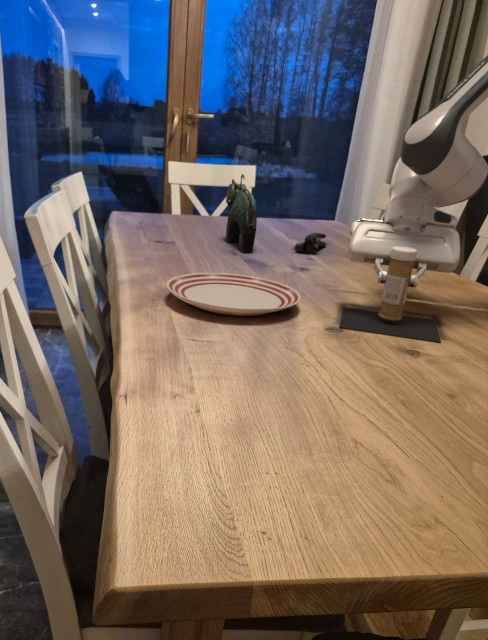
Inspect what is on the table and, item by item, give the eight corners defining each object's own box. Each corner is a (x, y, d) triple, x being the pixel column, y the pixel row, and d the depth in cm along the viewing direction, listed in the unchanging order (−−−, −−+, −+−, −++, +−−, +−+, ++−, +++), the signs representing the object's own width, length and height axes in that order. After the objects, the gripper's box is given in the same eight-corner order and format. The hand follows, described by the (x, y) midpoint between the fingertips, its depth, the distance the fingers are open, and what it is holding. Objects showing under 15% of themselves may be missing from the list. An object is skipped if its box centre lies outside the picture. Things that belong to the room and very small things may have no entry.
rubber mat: (434, 320, 115) (434, 319, 115) (440, 343, 103) (441, 342, 103) (343, 307, 119) (343, 306, 119) (339, 328, 107) (339, 327, 107)
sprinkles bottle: (406, 319, 112) (422, 249, 106) (391, 322, 109) (407, 251, 103) (386, 312, 115) (402, 244, 109) (372, 315, 112) (386, 246, 106)
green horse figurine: (220, 239, 179) (226, 170, 170) (240, 240, 180) (247, 171, 171) (238, 253, 161) (245, 177, 152) (260, 254, 162) (268, 179, 154)
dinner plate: (227, 278, 135) (228, 264, 134) (325, 308, 118) (328, 293, 117) (137, 297, 117) (137, 281, 116) (238, 335, 100) (240, 317, 99)
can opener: (313, 256, 164) (317, 236, 162) (291, 252, 167) (294, 232, 165) (334, 247, 178) (337, 229, 175) (313, 244, 181) (315, 225, 178)
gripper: (354, 207, 112) (342, 267, 108) (466, 218, 107) (458, 281, 103) (351, 227, 118) (339, 285, 114) (457, 238, 113) (449, 299, 109)
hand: (397, 283), depth 108 cm, fingers closed on sprinkles bottle, 4 cm apart
